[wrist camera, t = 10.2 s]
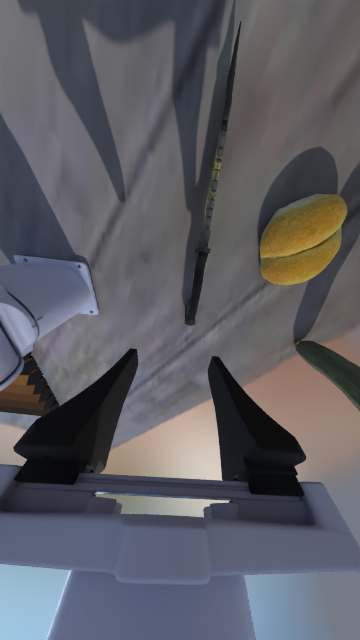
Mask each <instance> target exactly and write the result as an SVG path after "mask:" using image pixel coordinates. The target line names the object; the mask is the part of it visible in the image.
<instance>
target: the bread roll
mask: <svg viewBox="0 0 360 640" xmlns="http://www.w3.org/2000/svg"><path fill="white" fill-rule="evenodd" d="M346 215H347V204H346V203H345V201H344V200H343V198H342V197H341V196H340V195H338V194H318V193H317V194H314V195H311V196H308V197H306V198H303V199H300V200H298V201H295V202H293V203H291V204H288V205H287V206H285V207H284V208H280V209H279V210H277V211H276V212H275V213H274V215H273V217H272V218H271V220H270V222H269V223H268V225H267V226H266V228H265V230H264V232H263V234H262V238H261V242H260V256H261V265H260V270H261V274H262V276H263V277H264V278H265V279H266V280H268V281H270V282H272V283H275V284H278V285H292V284H297V283H301V282H304V281H307V280H309V279H311V278H313V277H314V276H316V275H317V274H319V273H320V272H321V271H322V270H323V269H324V268H325V267H326V266H327V265H328V264H329V263H330V261H331V260H332V259H333V258H334V256H335V255H336V253H337V252H338V250H339V248H340V245H341V239H342V232H341V225H342V223H343V221H344V220H345V217H346Z"/></svg>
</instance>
